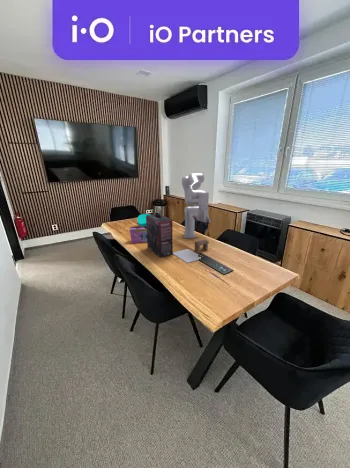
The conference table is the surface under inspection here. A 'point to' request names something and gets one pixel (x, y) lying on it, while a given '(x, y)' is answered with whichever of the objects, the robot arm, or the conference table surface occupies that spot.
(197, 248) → the walnut stool
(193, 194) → the robot arm
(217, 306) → the conference table surface
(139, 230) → the gum box
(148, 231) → the headset box
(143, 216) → the table top decor
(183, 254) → the grey pad
